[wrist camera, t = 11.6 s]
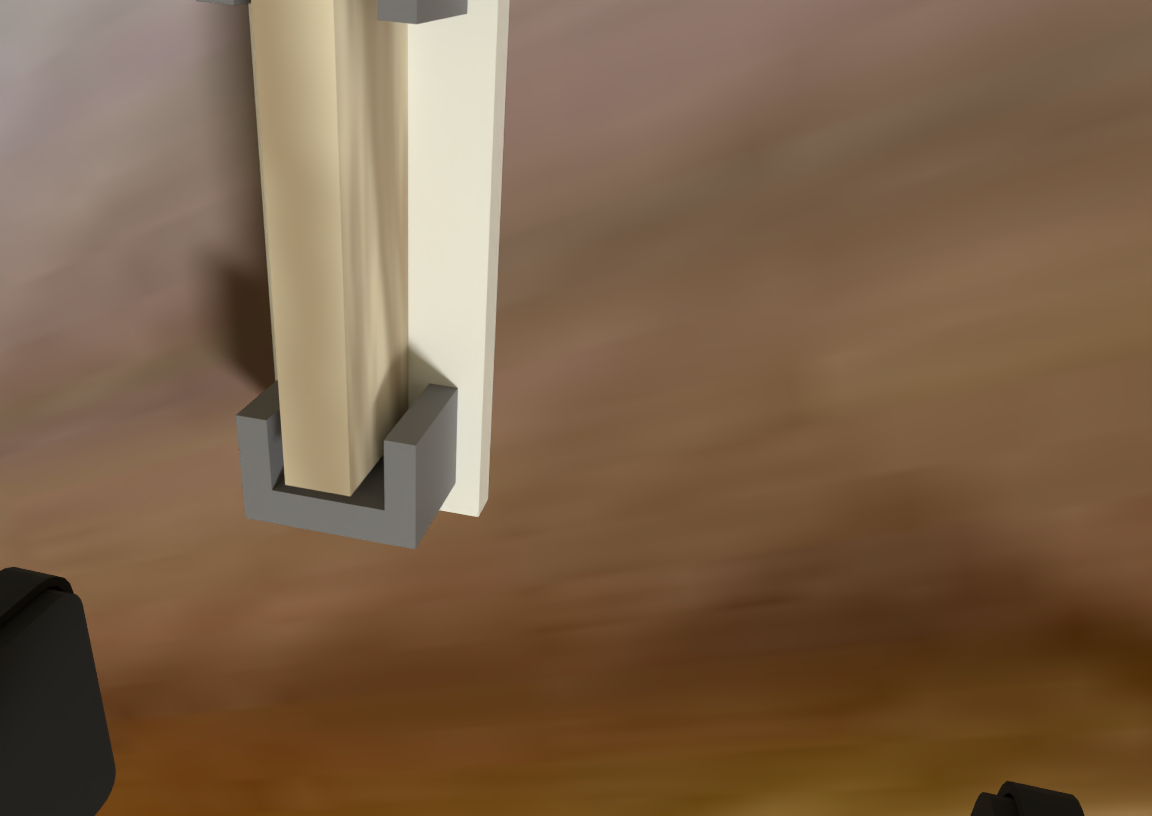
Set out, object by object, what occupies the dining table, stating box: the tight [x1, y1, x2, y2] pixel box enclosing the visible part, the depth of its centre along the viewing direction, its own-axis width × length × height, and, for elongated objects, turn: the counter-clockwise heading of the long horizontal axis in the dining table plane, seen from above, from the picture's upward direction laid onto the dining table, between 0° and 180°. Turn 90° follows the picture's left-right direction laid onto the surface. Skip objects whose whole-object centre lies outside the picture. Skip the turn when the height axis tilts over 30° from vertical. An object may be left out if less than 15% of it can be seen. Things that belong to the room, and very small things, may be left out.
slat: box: [251, 0, 408, 496], centre depth 33 cm, size 2×18×6 cm, turn 175°
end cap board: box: [197, 0, 510, 549], centre depth 34 cm, size 9×26×6 cm, turn 175°
